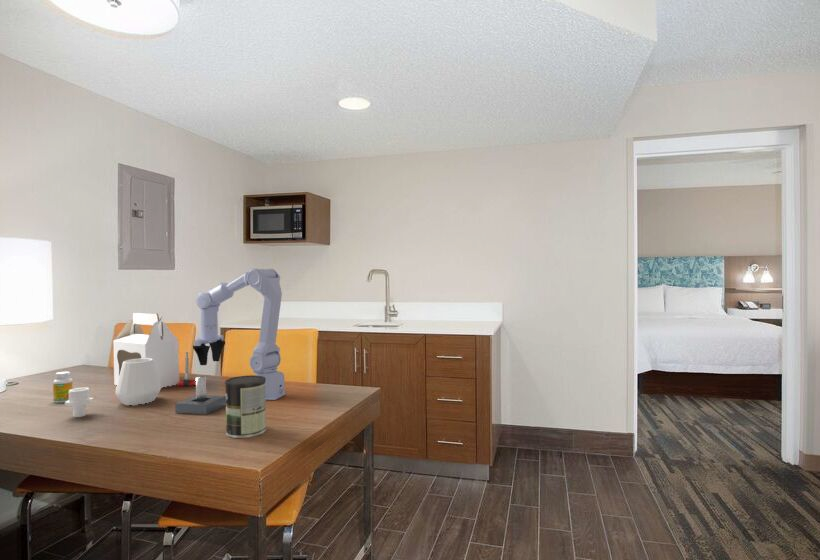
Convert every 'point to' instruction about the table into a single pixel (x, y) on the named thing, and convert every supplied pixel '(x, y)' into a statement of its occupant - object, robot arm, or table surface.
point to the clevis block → (200, 405)
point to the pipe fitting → (79, 401)
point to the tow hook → (187, 375)
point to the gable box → (148, 347)
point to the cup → (138, 382)
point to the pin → (201, 389)
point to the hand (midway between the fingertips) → (209, 363)
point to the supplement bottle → (62, 387)
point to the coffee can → (245, 406)
